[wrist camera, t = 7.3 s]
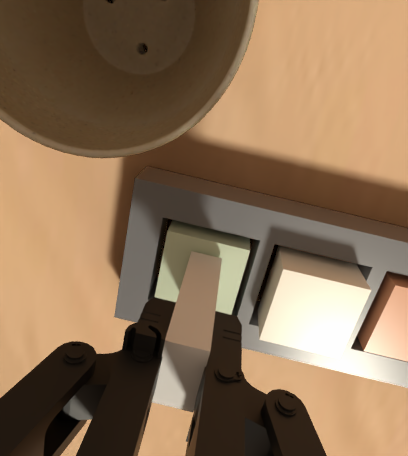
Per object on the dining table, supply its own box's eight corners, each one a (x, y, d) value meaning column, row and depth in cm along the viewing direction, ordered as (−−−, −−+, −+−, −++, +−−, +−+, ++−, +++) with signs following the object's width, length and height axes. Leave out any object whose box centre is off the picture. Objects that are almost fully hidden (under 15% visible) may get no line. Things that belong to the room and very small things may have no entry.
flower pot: (81, 148, 20) (1, 186, 13) (0, -79, 16) (-162, -179, 10) (272, 102, 18) (288, 119, 12) (227, -164, 15) (213, -355, 8)
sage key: (163, 276, 22) (153, 300, 20) (176, 212, 20) (167, 230, 18) (231, 292, 22) (229, 319, 20) (249, 230, 20) (250, 250, 18)
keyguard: (126, 293, 23) (114, 317, 21) (147, 166, 20) (134, 177, 18) (435, 367, 23) (455, 399, 21) (504, 251, 20) (536, 273, 18)
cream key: (257, 310, 21) (259, 339, 19) (278, 245, 19) (283, 269, 17) (329, 327, 21) (339, 358, 18) (356, 263, 19) (371, 290, 17)
